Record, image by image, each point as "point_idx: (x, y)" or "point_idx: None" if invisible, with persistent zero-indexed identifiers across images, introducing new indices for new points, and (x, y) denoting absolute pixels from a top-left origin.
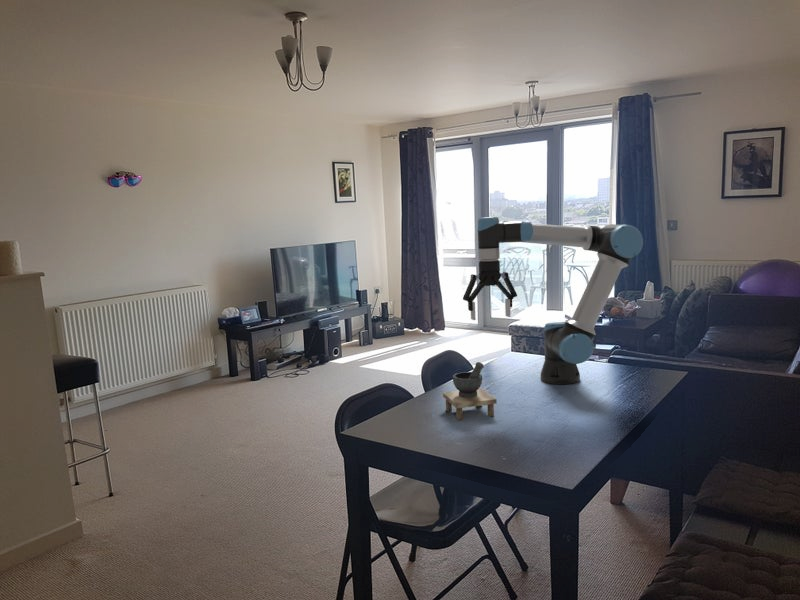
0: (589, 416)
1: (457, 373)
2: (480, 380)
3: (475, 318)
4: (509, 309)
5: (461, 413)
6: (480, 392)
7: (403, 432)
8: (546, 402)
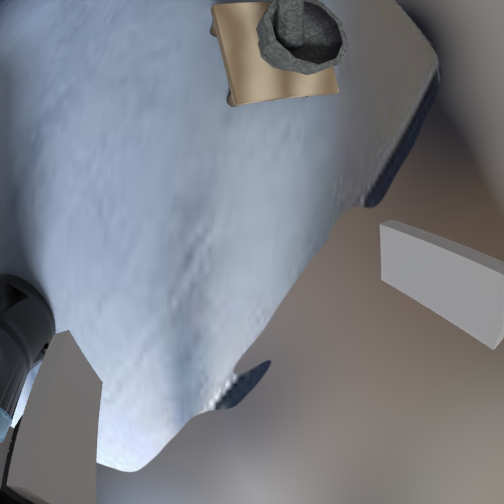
0: (15, 32)
1: (335, 62)
2: (267, 8)
3: (388, 227)
4: (40, 381)
5: None
6: (245, 62)
7: (376, 17)
8: (57, 118)
